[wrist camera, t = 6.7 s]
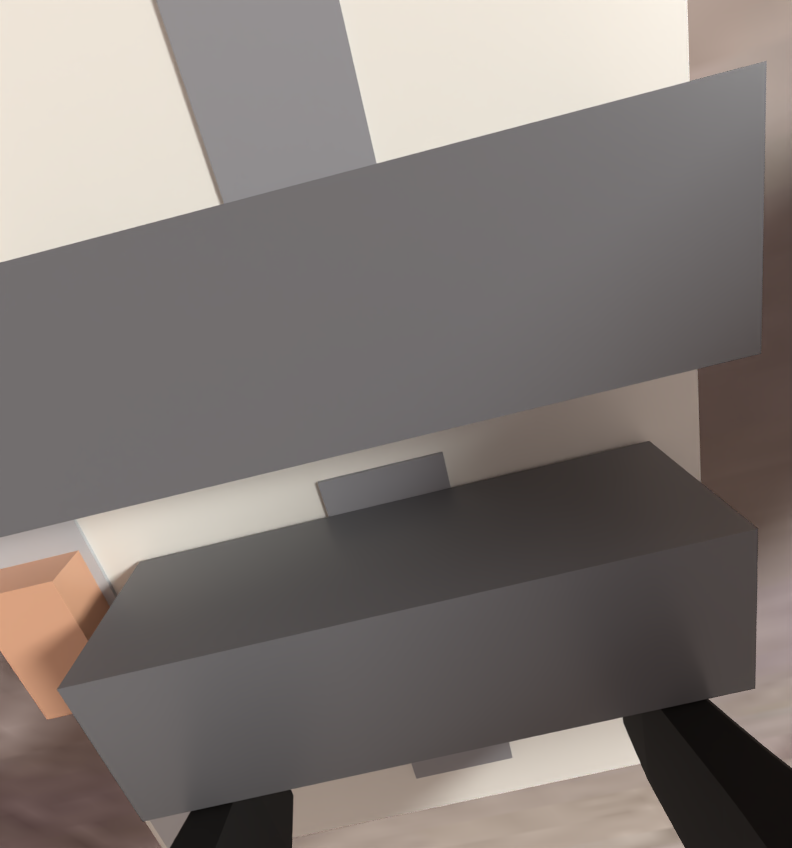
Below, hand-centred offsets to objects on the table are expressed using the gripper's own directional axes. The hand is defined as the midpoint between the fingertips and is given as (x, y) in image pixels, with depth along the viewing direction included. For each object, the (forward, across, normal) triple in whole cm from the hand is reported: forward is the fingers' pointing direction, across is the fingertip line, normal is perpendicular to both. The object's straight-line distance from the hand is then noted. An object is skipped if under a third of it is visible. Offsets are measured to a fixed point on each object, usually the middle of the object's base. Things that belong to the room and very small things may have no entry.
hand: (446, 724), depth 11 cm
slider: (+1, 0, -3) cm, 3 cm away
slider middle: (+1, 0, -8) cm, 9 cm away
